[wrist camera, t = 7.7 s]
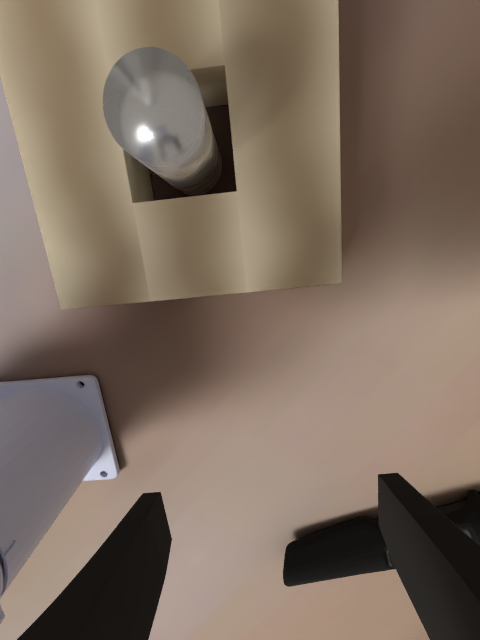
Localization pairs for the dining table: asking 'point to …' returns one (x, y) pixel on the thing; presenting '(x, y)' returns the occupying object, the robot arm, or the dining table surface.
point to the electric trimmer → (361, 546)
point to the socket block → (134, 177)
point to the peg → (162, 119)
